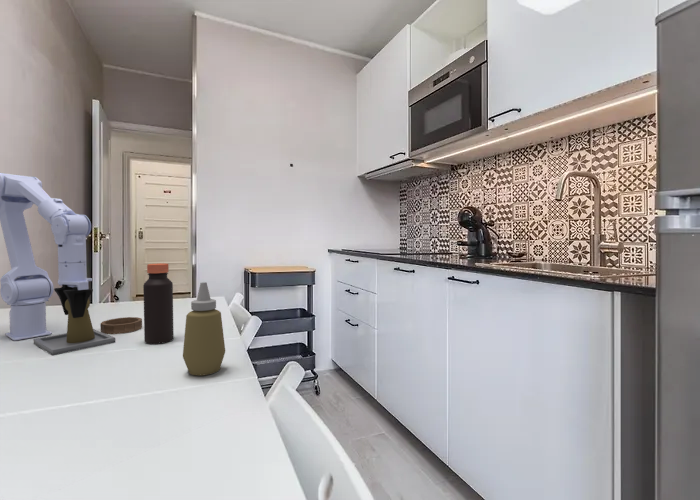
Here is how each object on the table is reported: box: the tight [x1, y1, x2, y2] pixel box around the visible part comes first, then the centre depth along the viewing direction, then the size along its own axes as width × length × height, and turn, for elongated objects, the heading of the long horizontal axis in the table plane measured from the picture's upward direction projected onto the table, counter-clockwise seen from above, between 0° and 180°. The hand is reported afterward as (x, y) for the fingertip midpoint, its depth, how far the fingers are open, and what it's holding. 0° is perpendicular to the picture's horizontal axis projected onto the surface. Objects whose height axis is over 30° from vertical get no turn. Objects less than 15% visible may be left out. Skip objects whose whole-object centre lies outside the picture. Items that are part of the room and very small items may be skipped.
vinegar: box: [142, 262, 175, 345], centre depth 96 cm, size 7×7×20 cm
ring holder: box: [99, 316, 143, 335], centre depth 108 cm, size 10×10×2 cm
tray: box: [33, 328, 116, 356], centre depth 95 cm, size 15×13×1 cm
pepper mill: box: [65, 298, 95, 343], centre depth 95 cm, size 6×6×11 cm
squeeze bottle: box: [182, 281, 226, 377], centre depth 75 cm, size 8×8×18 cm
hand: (74, 315), depth 94 cm, fingers closed on pepper mill, 5 cm apart
